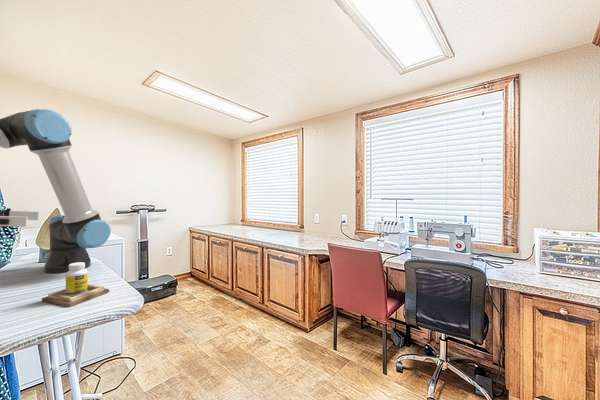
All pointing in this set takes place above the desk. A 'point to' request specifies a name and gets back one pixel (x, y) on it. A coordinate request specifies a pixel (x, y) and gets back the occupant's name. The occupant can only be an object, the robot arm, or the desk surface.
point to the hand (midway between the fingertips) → (33, 218)
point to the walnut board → (70, 301)
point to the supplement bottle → (76, 279)
